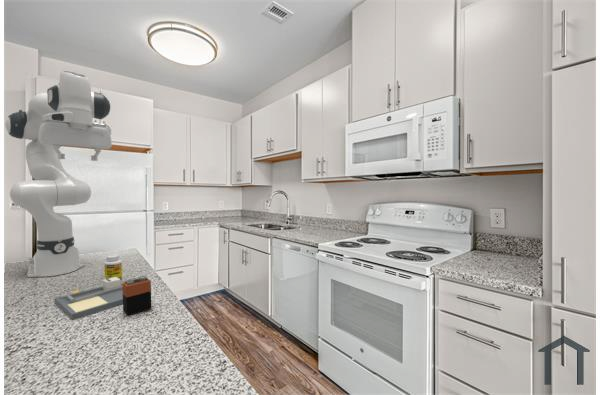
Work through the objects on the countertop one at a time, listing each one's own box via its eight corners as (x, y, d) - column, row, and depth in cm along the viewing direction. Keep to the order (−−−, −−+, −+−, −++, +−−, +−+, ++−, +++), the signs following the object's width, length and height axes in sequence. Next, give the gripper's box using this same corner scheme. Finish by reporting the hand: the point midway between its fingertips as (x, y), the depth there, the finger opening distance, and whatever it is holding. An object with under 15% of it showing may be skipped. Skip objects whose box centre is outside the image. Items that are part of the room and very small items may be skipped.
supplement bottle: (104, 285, 106) (104, 258, 105) (105, 280, 111) (104, 255, 110) (122, 282, 109) (121, 256, 108) (122, 278, 114) (121, 253, 113)
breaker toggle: (103, 289, 98) (102, 279, 98) (116, 286, 101) (115, 276, 101) (107, 292, 95) (107, 282, 95) (120, 289, 99) (120, 278, 98)
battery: (151, 308, 88) (151, 277, 87) (127, 316, 83) (126, 283, 82) (146, 304, 91) (146, 273, 90) (122, 311, 86) (121, 279, 85)
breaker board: (54, 302, 91) (54, 294, 91) (117, 286, 105) (117, 278, 105) (72, 319, 80) (72, 310, 80) (139, 298, 95) (139, 290, 94)
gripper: (107, 125, 109) (108, 161, 110) (35, 115, 93) (38, 158, 93) (114, 123, 105) (115, 161, 106) (40, 113, 89) (42, 157, 90)
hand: (78, 159), depth 100 cm, fingers open, 8 cm apart
